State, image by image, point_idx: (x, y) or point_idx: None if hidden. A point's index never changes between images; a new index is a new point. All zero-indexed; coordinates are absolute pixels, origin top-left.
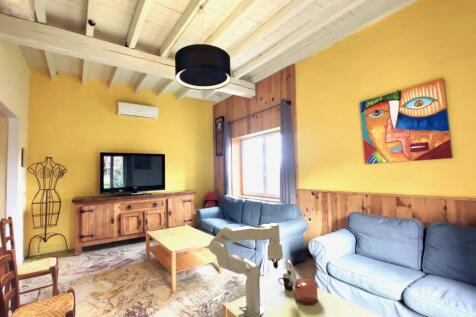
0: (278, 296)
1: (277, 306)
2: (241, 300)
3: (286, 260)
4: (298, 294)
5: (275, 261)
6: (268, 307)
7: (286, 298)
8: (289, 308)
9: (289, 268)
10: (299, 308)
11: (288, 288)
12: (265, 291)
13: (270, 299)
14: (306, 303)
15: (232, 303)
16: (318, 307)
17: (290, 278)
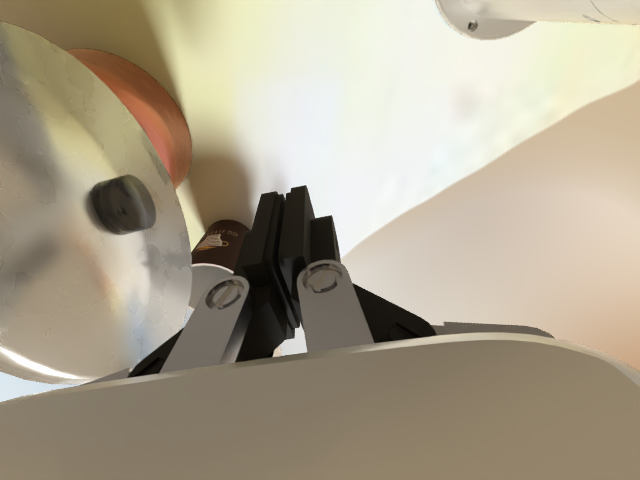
0: (292, 164)
1: (308, 38)
2: (534, 122)
3: (87, 370)
4: (127, 94)
5: (287, 325)
6: (375, 24)
7: (243, 142)
8: (220, 5)
9: (73, 235)
10: (144, 4)
11: (228, 226)
12: (363, 215)
13: (346, 131)
14: (90, 52)
15: (609, 85)
16: (2, 17)
17: (152, 191)
